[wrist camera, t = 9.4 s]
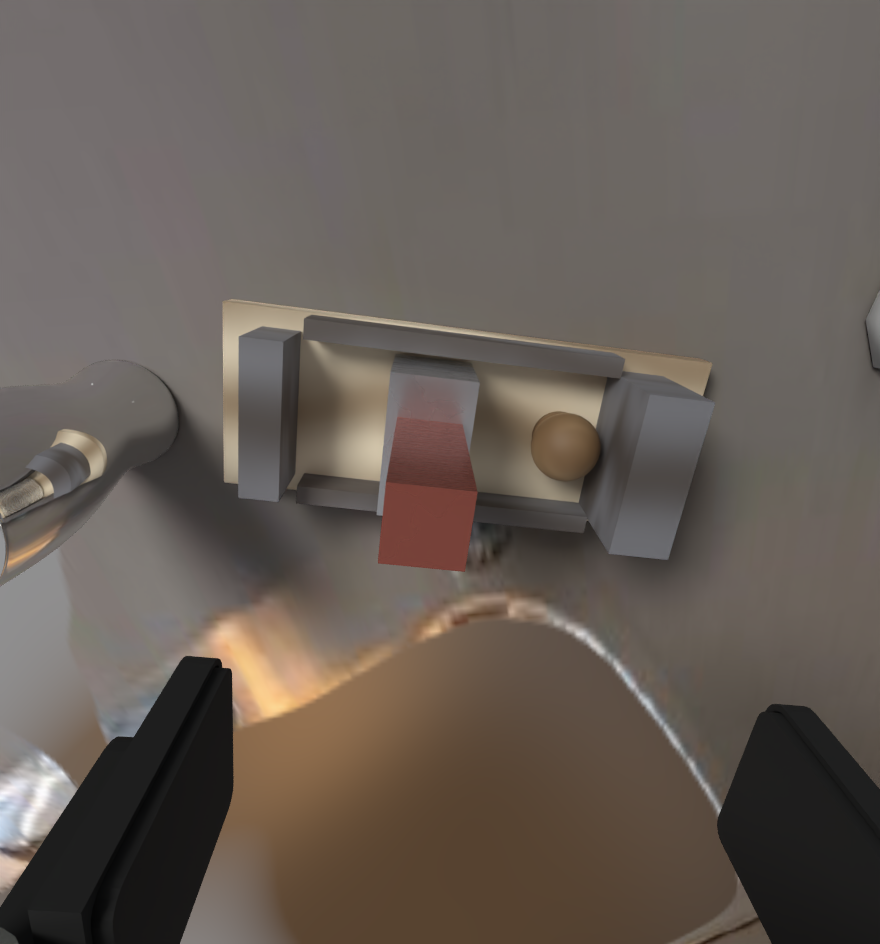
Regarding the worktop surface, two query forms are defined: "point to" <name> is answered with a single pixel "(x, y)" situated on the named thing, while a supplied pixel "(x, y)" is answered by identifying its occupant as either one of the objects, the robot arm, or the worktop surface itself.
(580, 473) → the walnut
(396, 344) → the cracker board
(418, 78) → the worktop surface
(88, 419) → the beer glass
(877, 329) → the flask
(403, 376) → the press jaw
